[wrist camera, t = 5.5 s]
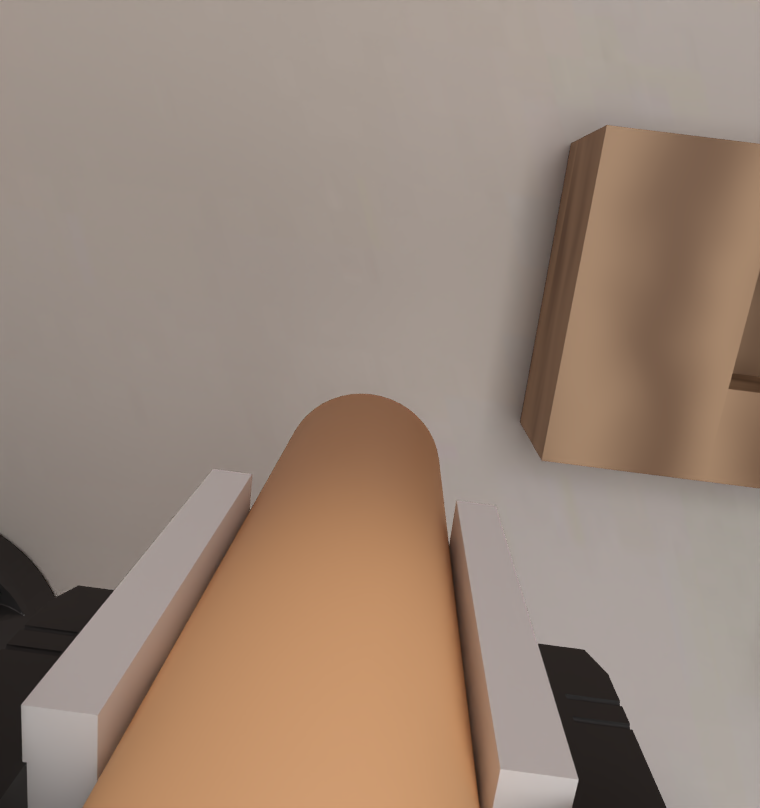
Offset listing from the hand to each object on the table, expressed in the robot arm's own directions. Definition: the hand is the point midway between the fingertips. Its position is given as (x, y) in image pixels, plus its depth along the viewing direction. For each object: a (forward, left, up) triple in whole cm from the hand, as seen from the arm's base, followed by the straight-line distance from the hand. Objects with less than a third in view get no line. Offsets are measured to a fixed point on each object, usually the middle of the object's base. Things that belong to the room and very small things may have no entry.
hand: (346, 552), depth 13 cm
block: (+18, +4, -23) cm, 29 cm away
